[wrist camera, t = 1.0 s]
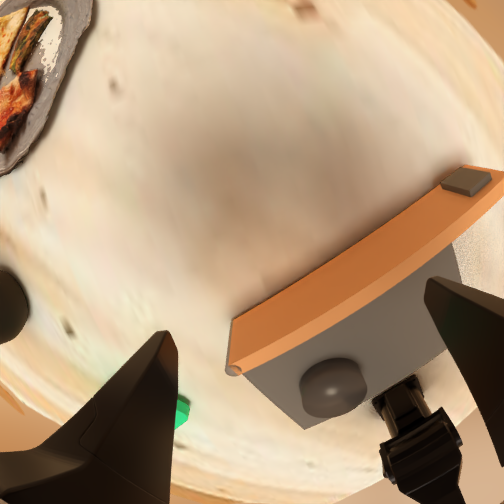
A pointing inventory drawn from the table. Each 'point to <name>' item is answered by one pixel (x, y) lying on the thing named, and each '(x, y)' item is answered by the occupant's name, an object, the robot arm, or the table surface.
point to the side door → (363, 269)
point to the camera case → (358, 351)
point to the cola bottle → (11, 308)
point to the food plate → (32, 70)
